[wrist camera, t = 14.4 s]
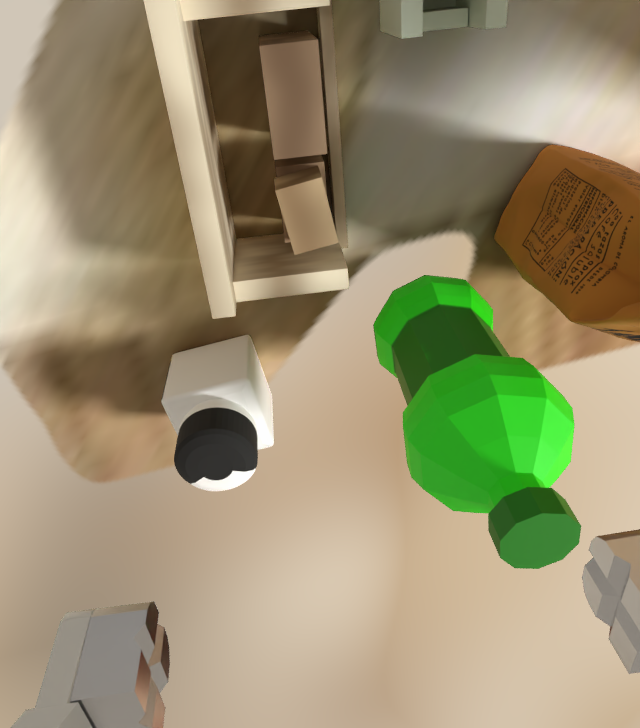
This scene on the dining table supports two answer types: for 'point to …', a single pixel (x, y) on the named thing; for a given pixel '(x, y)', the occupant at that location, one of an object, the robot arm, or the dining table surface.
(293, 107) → the offcut tall
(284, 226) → the offcut low
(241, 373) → the medicine bottle
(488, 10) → the stand
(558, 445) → the plastic bottle
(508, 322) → the dining table surface
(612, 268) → the coffee package
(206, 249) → the box
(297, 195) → the offcut top
